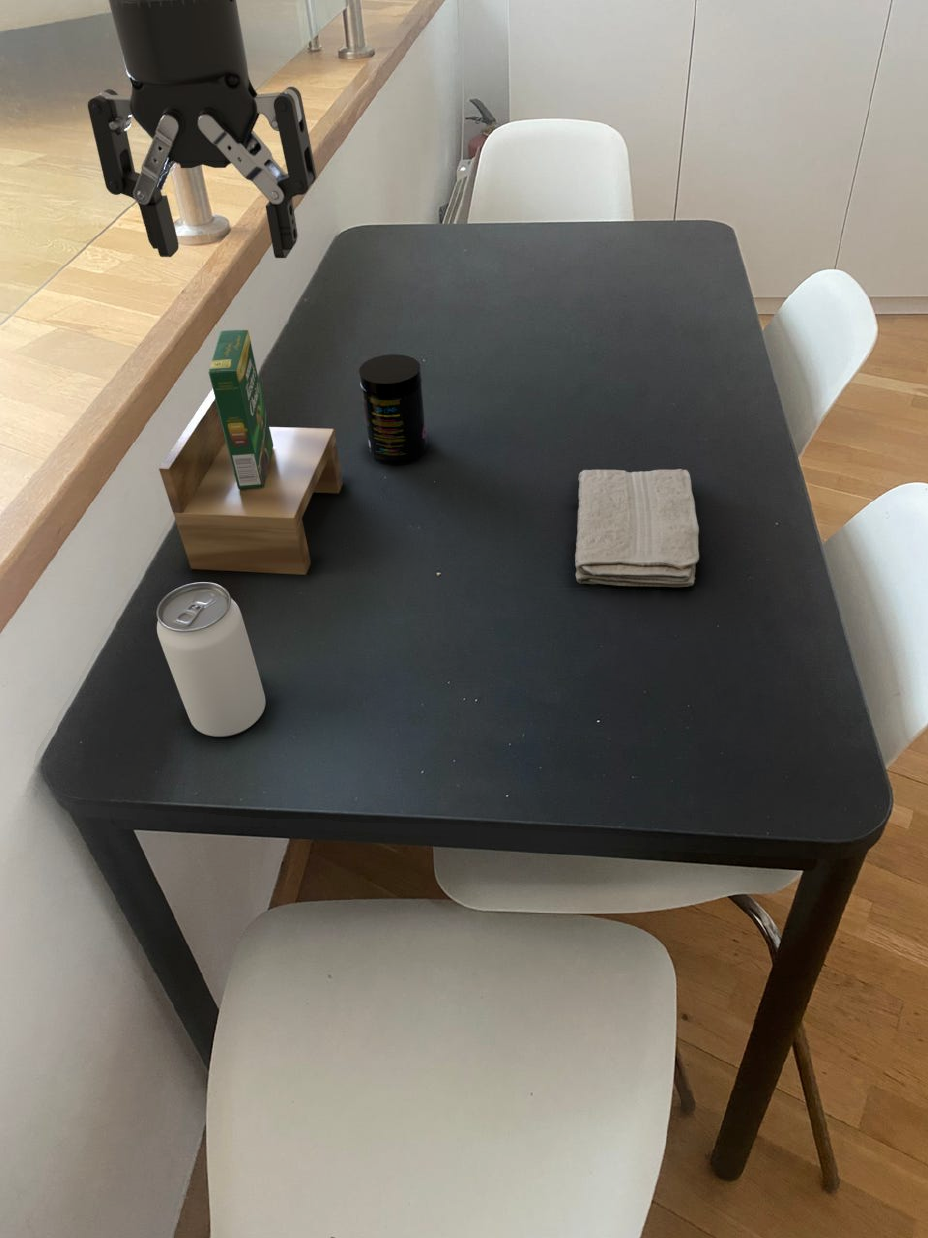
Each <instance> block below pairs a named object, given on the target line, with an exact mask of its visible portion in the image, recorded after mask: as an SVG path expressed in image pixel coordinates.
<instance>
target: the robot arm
mask: <svg viewBox="0 0 928 1238" xmlns="http://www.w3.org/2000/svg"><path fill="white" fill-rule="evenodd" d="M108 3H109V7H110V11H111V15H112V19H113V23H114V26H115V30H116V35H117V40H118V44H119V47H120V52H121V55H122V59H123V64H124V67H125V71H126V74H127V76H128V78H129V81H130V84H131V95H125V94H124V95H123V94H118V93H117V91H115V90H113V89H110V88H106V89H105V90H103V91H102V92H99V93H98V94H96V95H95V96H93V97H92V98H90V99H89V100H88V101H87V110H88V114H89V120H90V123H91V127H92V128H91V129H92V132H93V136H94V141H95V145H96V149H97V154H98V157H99V159H98V160H99V162H100V167H101V172H102V176H103V179H104V184H105V187H106V190H107V191H108V192H109V193H110V194H112V195H113V196H118V195H124V196H126V197H129V198H132V199H133V200H134V201H135V203H137V205H138V206H139V210H140V213H141V217H142V221H143V224H144V225H143V226H144V227H145V228H144V229H145V232H146V236H147V240H148V243H149V245H150V246H151V248H152V249H154V250H157V251H158V255H159V257H160V258H172V257H173V256H174V255H175V254H176V253H177V252H178V250H179V240H178V236H177V231H176V227H175V223H174V219H173V214H172V210H171V207H170V203H169V199H168V198H169V197H168V195H167V194H162V193H163V192H162V191H163V188H164V187H165V184H166V182H167V180H168V177H169V175H170V173H171V171H172V169H173V168H174V166H175V164H177V165H178V166H179V167H180V169H193V168H197V167H199V166H200V167H201V166H206V167H209V168H213V169H226V168H227V167H228V166H230V165H233V167H234V168H235V169H236V170H237V171H238V172H239V174H240V175H241V176H242V177H243V178H245V179H246V180H248V181H250V182H252V183H253V184H254V186H255V187H256V188H257V189H258V190H259V192H260V193H261V194H262V195H263V197H265V198H266V199H267V200H268V202H267V204H265V211H266V212H265V213H266V217H267V223H268V228H269V233H270V234H269V235H270V240H271V245H272V250H273V256H274V258H275V259H287V258H288V256H289V254H290V253H291V251H292V249H293V248H294V247H295V245H296V243H297V240H298V237H299V233H298V229H297V222H296V215H295V209H294V202H293V198H294V197H296V196H303V195H306V193H307V192H308V191H309V190H310V188H311V186H312V185H313V184H314V183H315V181H316V179H317V169H316V165H315V160H314V154H313V150H312V149H313V148H312V145H311V140H310V134H309V129H308V124H307V119H306V114H305V109H304V108H305V107H304V104H303V103H304V102H303V98H302V94H301V92H300V90H299V89H298V88H296V87H295V86H288V87H286V88H285V89H284V90H282V91H279V92H268V93H266V92H265V93H258V92H257V91H256V89H255V88H254V86H253V84H252V82H251V79H250V76H249V69H248V61H247V56H246V50H245V43H244V38H243V32H242V26H241V21H240V16H239V15H240V14H239V10H238V9H239V8H238V3H237V0H108ZM260 115H263V116H264V118H266V119H267V121H268V124H269V127H271V129H272V130H273V131H276V132H278V133H279V138H280V143H281V147H282V152H283V156H284V161H285V166H286V171H287V173H286V172H285V170H284V169H283V168H282V167H281V165H279V163H277V161H276V160H275V159H274V157H273V154H272V152H271V150H270V148H269V147H268V146H267V145H266V144H265V143H264V142H263V140H262V139H261V138H260V136H258V135H257V133H256V132H255V131H254V128H255V125H256V124H257V121H258V119H259V117H260ZM132 117H133V119H134V120H135V122H136V123H137V124H138V125H139V126H140V127H141V128H142V129H143V131H144V132H145V133H146V134H147V136H149V137H150V138H151V140H152V141H151V143H150V145H149V147H148V150H147V153H146V155H145V158H144V160H143V163H142V165H141V167H140V169H141V171H140V172H136V169H135V165H134V164H135V163H134V161H133V160H134V159H133V155H132V151H131V146H130V139H129V137H128V131H127V130H128V129H129V128H130V127H131V125H132Z"/></svg>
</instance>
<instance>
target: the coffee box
mask: <svg viewBox="0 0 928 1238" xmlns="http://www.w3.org/2000/svg"><path fill="white" fill-rule="evenodd" d="M253 351H254V350H253V346H252V341H251V336H250V332H249V329H232V330H231V329H228V330H221V331H220V332H219V336H218V338H217V343H216V345H215V349H214V352H213V356H212V359H211V363H210V365H209V369H208V376H209V379H210V383H211V388H212V389H213V392H214V396H215V400H216V404H217V408H218V412H219V416H220V420H221V424H222V428H223V432H224V436H225V440H226V444H227V448H228V452H229V456H230V460H231V464H232V468H233V472H234V475H235V479H236V482H237V486H238V489H239V490H241V489H255V488H264V485H265V480H266V476H267V472H268V468H269V463H270V459H271V455H272V450H273V446H274V445H273V441H272V437H271V432H270V428H269V427H270V424H269V419H268V416H267V411H266V406H265V401H264V397H263V392H262V388H261V384H260V379H259V374H258V370H257V365H256V360H255V356H254V352H253Z"/></svg>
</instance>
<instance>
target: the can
mask: <svg viewBox="0 0 928 1238" xmlns="http://www.w3.org/2000/svg"><path fill="white" fill-rule="evenodd" d="M156 618H157V623H156V632H157V637H158V641H159V643H160V646H161V648H162V651H163V654H164V657H165V659H166V662H167V664H168V667H169V669H170V672H171V675H172V678H173V680H174V683H175V686H176V688H177V691H178V693H179V696H180V699H181V701H182V703H183V706H184V709H185V711H186V714H187V717H188V719H189V721H190V723H191V725H192V726H193V728H194V729H195V730H196V731H197V732H200V733H201V734H203V735H205V736H210V737H215V738H226V737H232V736H235V735H236V736H237V735H238V734H241V733H243V732H245V731H246V730H248V729H250V728H251V727H252V726H253V725H255V724H256V722H257V721H259V719H260V718H261V717H262V715H263V714H264V711H265V707H266V695H265V692H264V687H263V684H262V680H261V677H260V673H259V669H258V666H257V663H256V660H255V656H254V653H253V652H254V651H253V649H252V646H251V642H250V639H249V636H248V632H247V629H246V626H245V621H244V618H243V615H242V612H241V609H240V607H239V606H238V604H237V603H236V601H235V600H233V598H232V597H231V594H230V592H229V591H228V590H227V589H226V588H225V587H223V586H221V585H219V584H217V583H214V582H206V581H205V582H204V581H201V582H200V581H199V582H193V583H188V584H185V585H182V586H179V587H177V588H175V589H174V590H172V591H171V592H169V593H167V594H166V595H165V596H164V597H163V598H162V600H160V602H159V604H158V605H157V609H156Z"/></svg>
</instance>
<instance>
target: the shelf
mask: <svg viewBox="0 0 928 1238" xmlns="http://www.w3.org/2000/svg"><path fill="white" fill-rule="evenodd" d="M269 428H270V432H271V437H272V441H273V445H274V446H273V450H272V455H271V459H270V463H269V468H268V472H267V476H266V480H265V485H264V488H255V489H241V490H239V489H238V486H237V482H236V479H235V475H234V472H233V468H232V464H231V460H230V456H229V452H228V448H227V444H226V440H225V436H224V432H223V428H222V424H221V420H220V416H219V412H218V408H217V404H216V400H215V396H214V392H213V388H212V389H211V390H210V392H209V393H208V395H207V396H206V398H205V399H204V401H202V403H201V405H200V406H199V408H198V410H196V412H195V414H194V416H193V417H192V418H191V420H190V421H189V423H188V425H187V426H186V427H185V429H184V430H183V432H182V434H181V435H180V436H179V438H178V439H177V441H176V442H175V443H174V445H173V447H172V448H171V450H170V451H169V453H168V454H167V456H166V457H165V459H164V460H163V462H162V463H161V465H160V466H159V468H158V471H159V475H160V478H161V480H162V483H163V486H164V489H165V492H166V495H167V498H168V501H169V505H170V508H171V511H172V513H173V517H174V520H175V523H176V525H177V530H178V532H179V535H180V538H181V542H182V545H183V547H184V550H185V554H186V557H187V560H188V563H189V566H190V569H191V570H202V571H203V570H205V571H224V572H241V573H243V572H245V573H261V574H262V573H263V574H264V573H265V574H279V575H280V574H282V575H300V576H302V575H303V576H306V575H307V573H308V571H309V568H310V566H311V564H312V561H311V556H310V551H309V547H308V542H307V541H308V540H307V537H306V533H305V528H304V521H303V516H304V514H305V512H306V509H307V507H308V505H309V503H310V501H311V499H312V496H313V494H314V493H316V494H317V493H321V494H322V493H323V494H340V493H341V489H342V487H343V484H344V482H343V481H344V480H343V475H342V469H341V464H340V463H341V462H340V457H339V450H338V444H337V439H336V432H335V429H334V428H321V427H320V428H317V427H289V426H288V427H286V426H284V427H283V426H269Z"/></svg>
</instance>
